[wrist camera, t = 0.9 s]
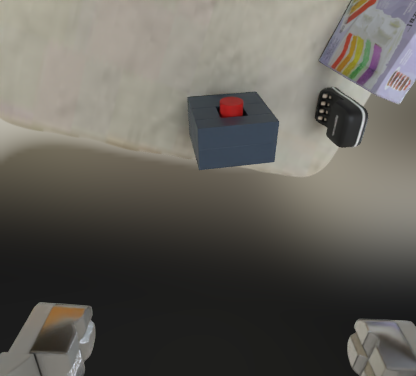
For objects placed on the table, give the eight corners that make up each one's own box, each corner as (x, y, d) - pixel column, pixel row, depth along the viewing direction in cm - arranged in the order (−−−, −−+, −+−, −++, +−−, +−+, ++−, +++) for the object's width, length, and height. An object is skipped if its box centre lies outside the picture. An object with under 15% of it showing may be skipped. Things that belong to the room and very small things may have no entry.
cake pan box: (388, -74, 47) (495, -80, 33) (413, -57, 48) (525, -56, 34) (314, 59, 56) (372, 98, 42) (337, 69, 58) (400, 110, 44)
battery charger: (316, 86, 59) (348, 113, 50) (336, 85, 60) (372, 111, 51) (309, 122, 63) (338, 153, 54) (328, 121, 64) (359, 151, 55)
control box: (187, 96, 56) (197, 128, 47) (255, 91, 58) (279, 121, 48) (189, 134, 60) (199, 170, 51) (253, 128, 62) (274, 162, 53)
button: (217, 97, 52) (222, 106, 49) (240, 95, 52) (246, 104, 49) (217, 117, 54) (222, 127, 51) (239, 115, 54) (244, 125, 51)
